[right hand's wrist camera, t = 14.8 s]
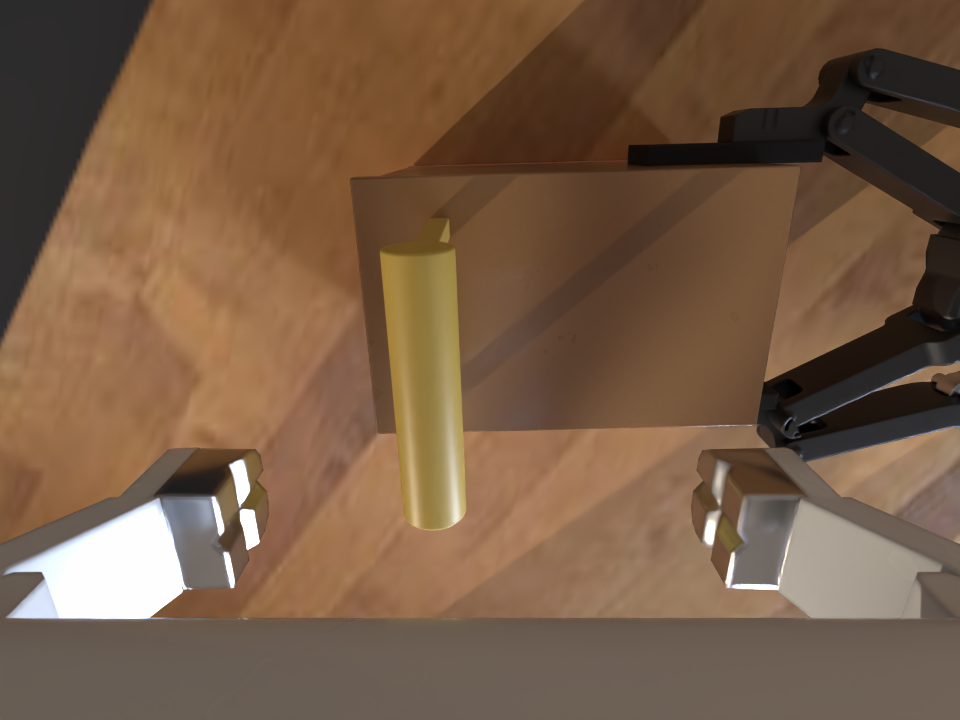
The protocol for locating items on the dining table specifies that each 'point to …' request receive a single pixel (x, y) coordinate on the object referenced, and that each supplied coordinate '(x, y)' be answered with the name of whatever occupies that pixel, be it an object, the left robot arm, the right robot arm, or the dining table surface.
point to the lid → (564, 306)
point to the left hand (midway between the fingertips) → (627, 283)
